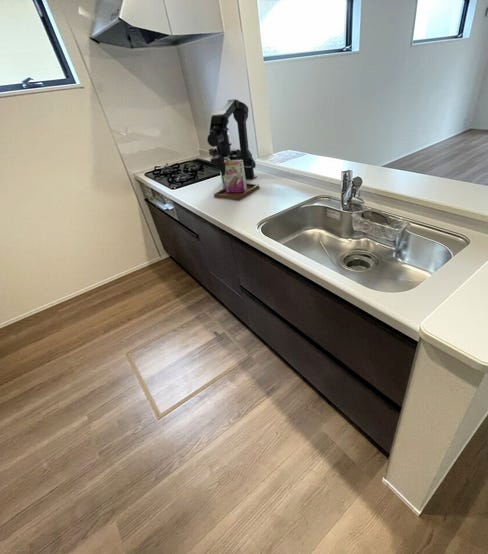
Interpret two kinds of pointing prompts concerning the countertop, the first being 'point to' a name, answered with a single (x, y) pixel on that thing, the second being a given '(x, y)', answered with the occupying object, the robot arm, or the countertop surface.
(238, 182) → the candy bar box
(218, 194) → the tray
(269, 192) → the countertop surface
